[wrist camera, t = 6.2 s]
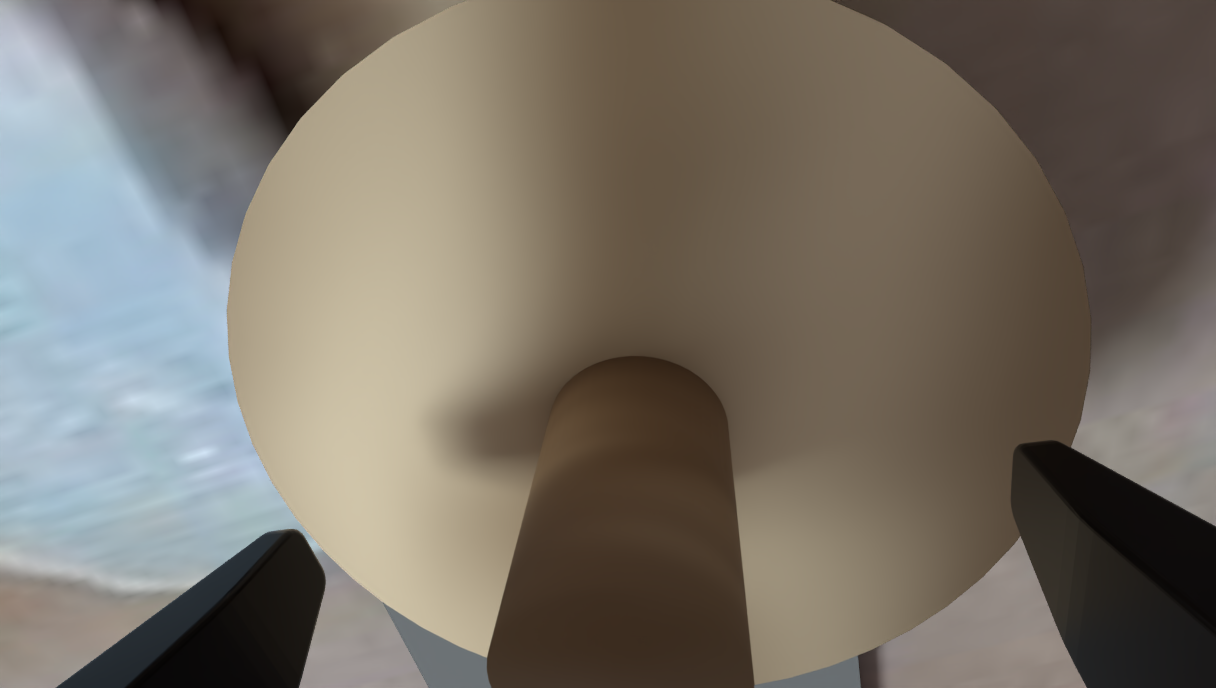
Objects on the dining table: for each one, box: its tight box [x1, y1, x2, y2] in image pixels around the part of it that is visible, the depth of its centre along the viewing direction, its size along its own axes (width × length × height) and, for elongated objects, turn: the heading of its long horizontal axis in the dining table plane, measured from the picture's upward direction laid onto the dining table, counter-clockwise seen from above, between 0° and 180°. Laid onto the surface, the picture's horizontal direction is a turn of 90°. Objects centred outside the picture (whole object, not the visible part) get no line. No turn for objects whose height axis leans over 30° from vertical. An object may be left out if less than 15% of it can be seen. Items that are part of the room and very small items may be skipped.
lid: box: [227, 0, 1091, 688], centre depth 9 cm, size 12×12×5 cm
